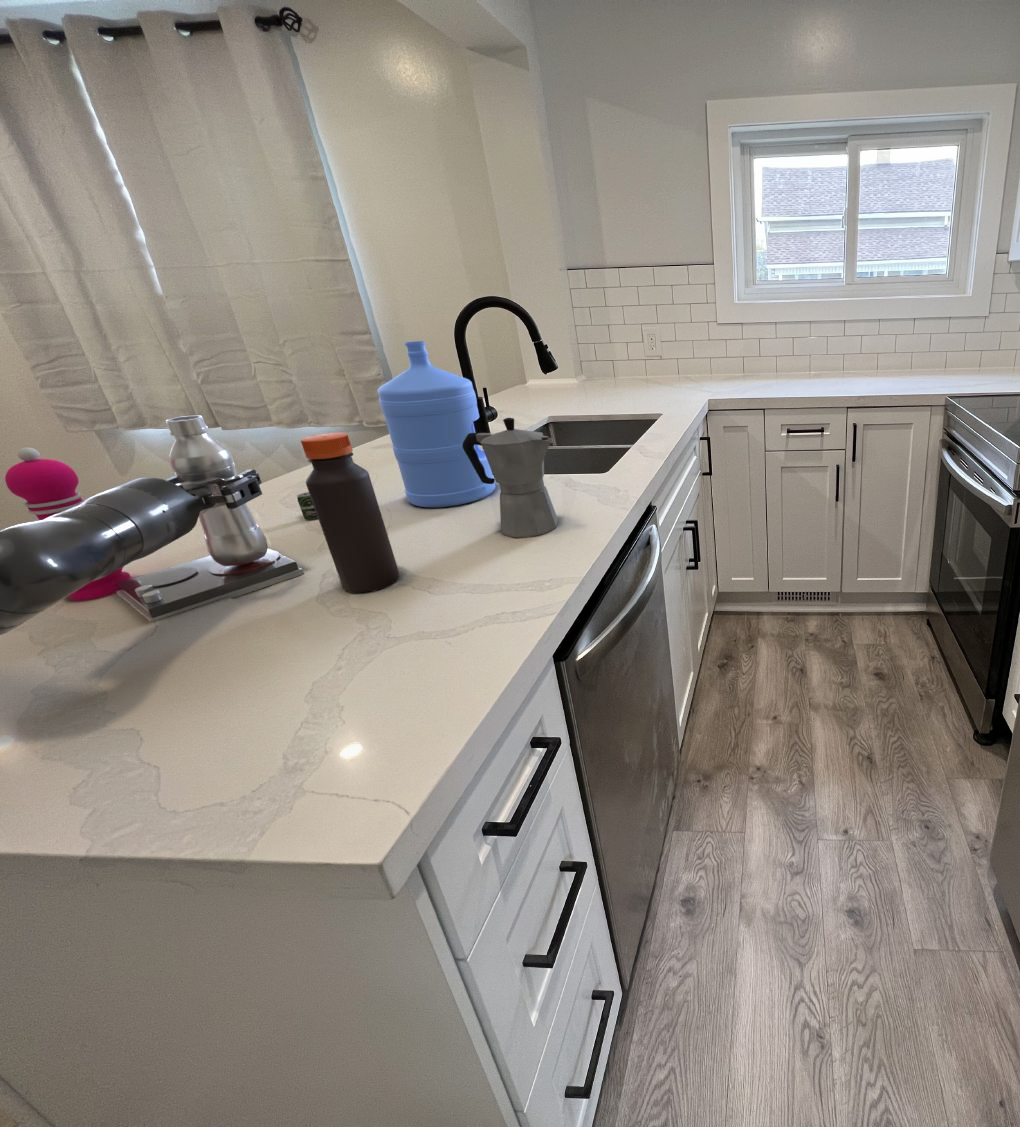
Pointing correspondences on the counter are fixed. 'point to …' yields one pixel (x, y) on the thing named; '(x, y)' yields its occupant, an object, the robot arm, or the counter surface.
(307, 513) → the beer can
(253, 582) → the hob
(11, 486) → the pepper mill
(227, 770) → the counter surface
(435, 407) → the water jug
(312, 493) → the vinegar
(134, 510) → the robot arm
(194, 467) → the silver metal bottle
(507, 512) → the coffeepot
